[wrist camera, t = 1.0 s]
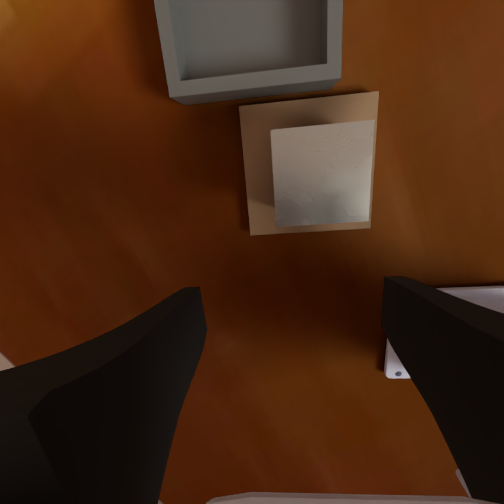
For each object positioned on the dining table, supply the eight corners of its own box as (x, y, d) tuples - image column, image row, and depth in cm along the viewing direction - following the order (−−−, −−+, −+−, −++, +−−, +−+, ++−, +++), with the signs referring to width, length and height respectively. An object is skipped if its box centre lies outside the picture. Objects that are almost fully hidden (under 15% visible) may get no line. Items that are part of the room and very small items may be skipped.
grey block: (345, 129, 16) (374, 119, 12) (343, 204, 18) (368, 223, 13) (271, 136, 17) (270, 129, 12) (275, 209, 18) (276, 229, 14)
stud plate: (373, 94, 16) (397, 80, 13) (366, 225, 19) (384, 239, 16) (240, 108, 17) (233, 98, 14) (251, 232, 20) (247, 247, 17)
